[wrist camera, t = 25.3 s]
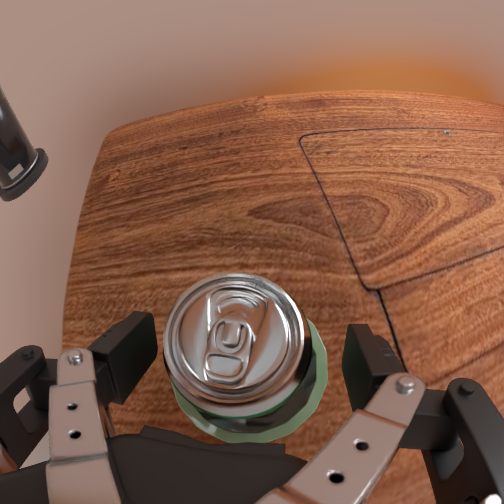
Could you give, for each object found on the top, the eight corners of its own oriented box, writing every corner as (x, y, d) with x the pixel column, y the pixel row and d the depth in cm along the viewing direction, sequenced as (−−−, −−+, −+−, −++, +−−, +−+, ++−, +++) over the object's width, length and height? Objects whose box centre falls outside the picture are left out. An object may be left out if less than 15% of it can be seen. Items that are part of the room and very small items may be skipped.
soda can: (296, 352, 20) (322, 269, 9) (286, 422, 17) (306, 430, 7) (225, 342, 20) (175, 253, 10) (211, 410, 18) (134, 395, 8)
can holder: (180, 405, 19) (144, 397, 13) (229, 313, 22) (213, 273, 17) (283, 452, 16) (288, 467, 11) (327, 352, 20) (348, 325, 15)
